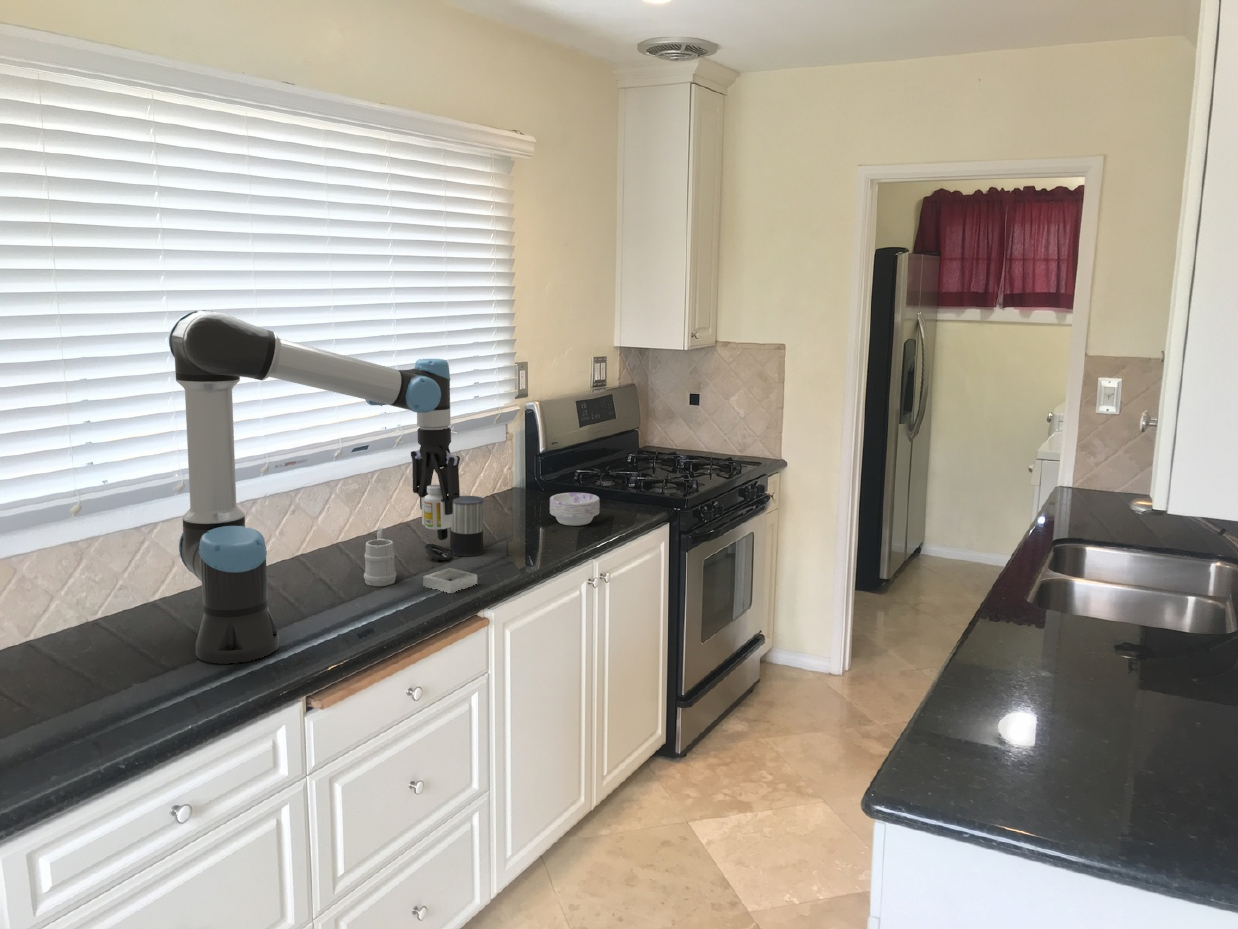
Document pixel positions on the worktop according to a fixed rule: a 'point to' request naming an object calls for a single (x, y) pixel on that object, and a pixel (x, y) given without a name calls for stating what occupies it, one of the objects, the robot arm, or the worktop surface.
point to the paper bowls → (574, 508)
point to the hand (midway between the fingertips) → (436, 525)
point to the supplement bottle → (433, 507)
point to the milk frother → (462, 530)
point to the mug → (379, 561)
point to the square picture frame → (441, 579)
